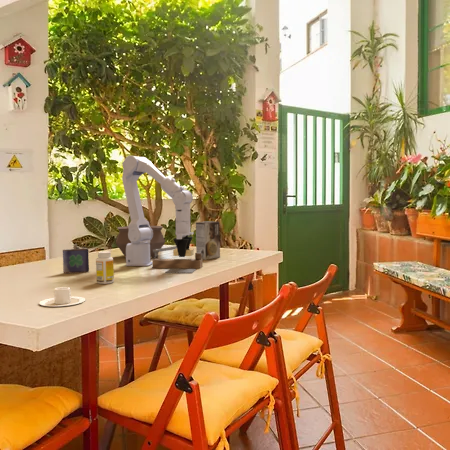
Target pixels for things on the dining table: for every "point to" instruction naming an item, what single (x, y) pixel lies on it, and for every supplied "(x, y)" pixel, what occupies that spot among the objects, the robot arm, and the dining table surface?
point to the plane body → (179, 262)
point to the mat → (180, 271)
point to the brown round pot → (155, 242)
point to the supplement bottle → (104, 268)
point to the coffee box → (208, 239)
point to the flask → (75, 260)
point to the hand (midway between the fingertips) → (183, 255)
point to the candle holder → (62, 297)
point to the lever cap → (188, 253)
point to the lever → (163, 250)
